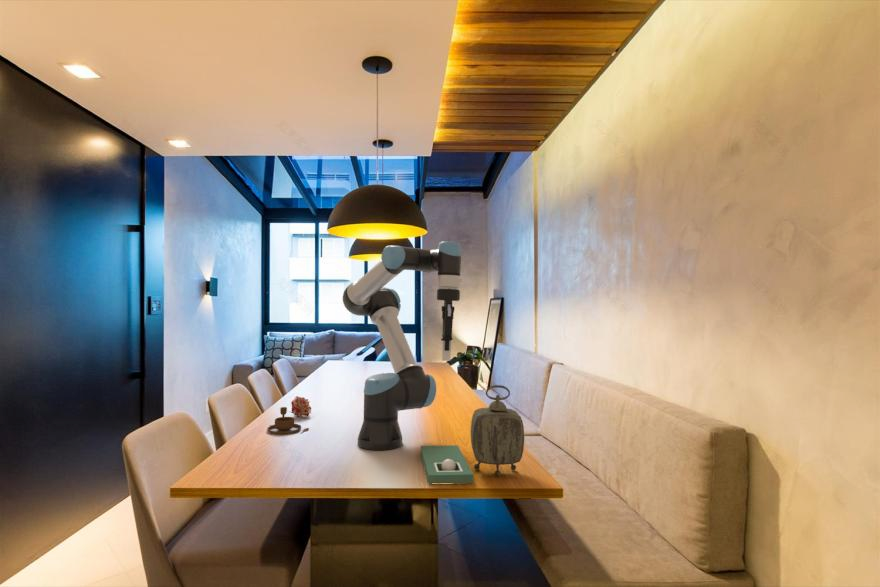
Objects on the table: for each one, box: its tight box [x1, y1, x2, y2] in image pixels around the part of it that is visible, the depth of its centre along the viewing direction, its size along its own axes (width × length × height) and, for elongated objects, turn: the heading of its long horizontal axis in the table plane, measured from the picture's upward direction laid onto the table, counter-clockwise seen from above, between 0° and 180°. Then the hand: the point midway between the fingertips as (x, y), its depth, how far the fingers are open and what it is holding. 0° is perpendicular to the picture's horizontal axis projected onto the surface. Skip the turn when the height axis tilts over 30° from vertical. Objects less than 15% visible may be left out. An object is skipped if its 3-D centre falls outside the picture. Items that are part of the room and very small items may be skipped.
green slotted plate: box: [420, 444, 474, 484], centre depth 134 cm, size 12×26×2 cm, turn 7°
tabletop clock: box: [470, 384, 525, 477], centre depth 131 cm, size 14×9×25 cm, turn 91°
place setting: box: [267, 406, 310, 436], centre depth 174 cm, size 18×20×6 cm
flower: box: [288, 395, 312, 419], centre depth 192 cm, size 10×9×8 cm
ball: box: [442, 459, 456, 471], centre depth 129 cm, size 4×4×4 cm
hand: (446, 360), depth 150 cm, fingers closed
